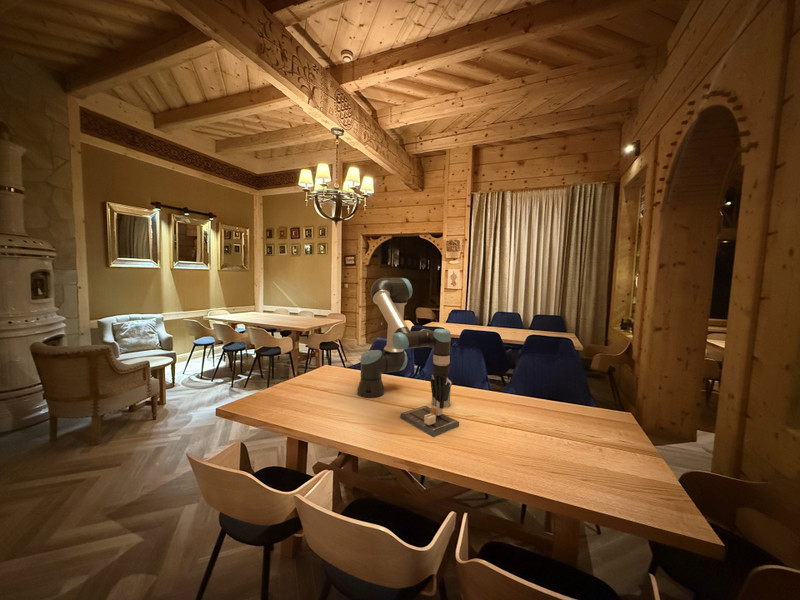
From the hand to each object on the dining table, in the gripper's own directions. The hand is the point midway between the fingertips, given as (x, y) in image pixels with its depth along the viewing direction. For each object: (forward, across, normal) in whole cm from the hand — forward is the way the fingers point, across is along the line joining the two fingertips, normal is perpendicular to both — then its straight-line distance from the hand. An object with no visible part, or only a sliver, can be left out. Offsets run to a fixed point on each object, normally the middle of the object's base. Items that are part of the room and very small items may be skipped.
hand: (439, 414), depth 147 cm
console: (+3, -2, -4) cm, 6 cm away
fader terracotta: (+1, -2, 0) cm, 2 cm away
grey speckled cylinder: (+4, -13, +15) cm, 20 cm away
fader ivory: (+1, +2, -8) cm, 8 cm away
